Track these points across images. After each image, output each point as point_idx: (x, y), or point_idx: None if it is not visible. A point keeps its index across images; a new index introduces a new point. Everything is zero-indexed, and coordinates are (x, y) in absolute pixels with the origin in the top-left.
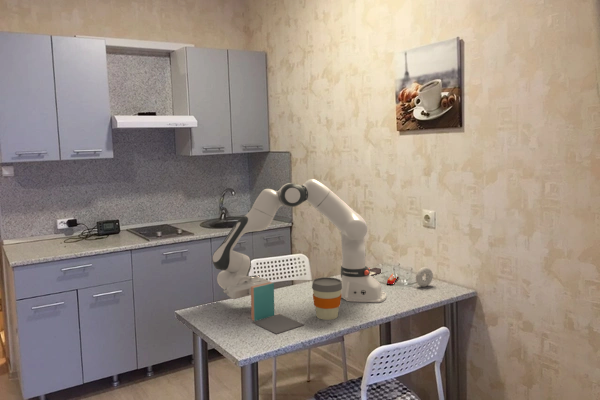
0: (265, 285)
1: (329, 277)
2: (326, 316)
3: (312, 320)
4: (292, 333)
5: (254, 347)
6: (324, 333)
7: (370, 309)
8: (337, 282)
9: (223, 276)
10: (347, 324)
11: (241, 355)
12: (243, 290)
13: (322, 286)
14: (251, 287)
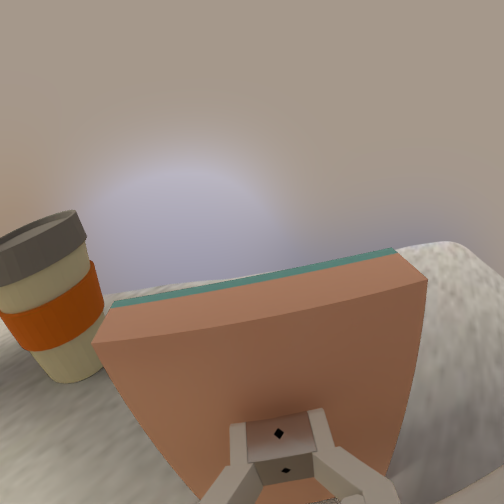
0: (233, 282)
1: None
2: None
3: None
4: None
5: (421, 265)
6: (201, 283)
7: (3, 335)
8: (14, 238)
9: None
10: (113, 301)
11: (453, 247)
12: (498, 470)
13: (77, 215)
14: (419, 280)
